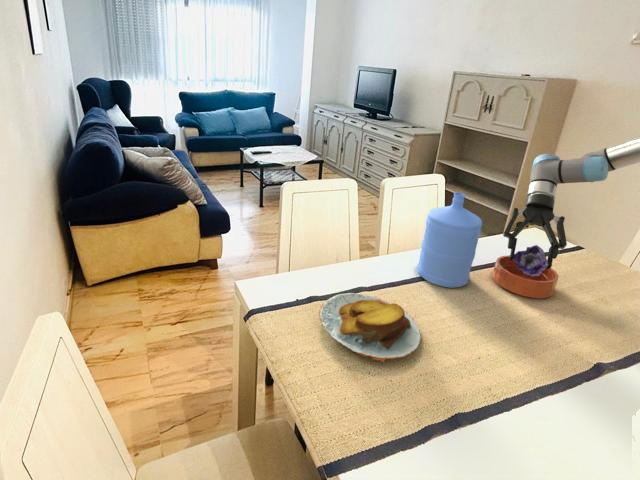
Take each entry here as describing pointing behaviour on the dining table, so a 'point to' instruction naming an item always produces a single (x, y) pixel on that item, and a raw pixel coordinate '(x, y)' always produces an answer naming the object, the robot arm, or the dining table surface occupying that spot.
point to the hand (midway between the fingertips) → (529, 262)
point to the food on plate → (370, 326)
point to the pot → (524, 279)
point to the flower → (531, 260)
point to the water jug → (449, 244)
